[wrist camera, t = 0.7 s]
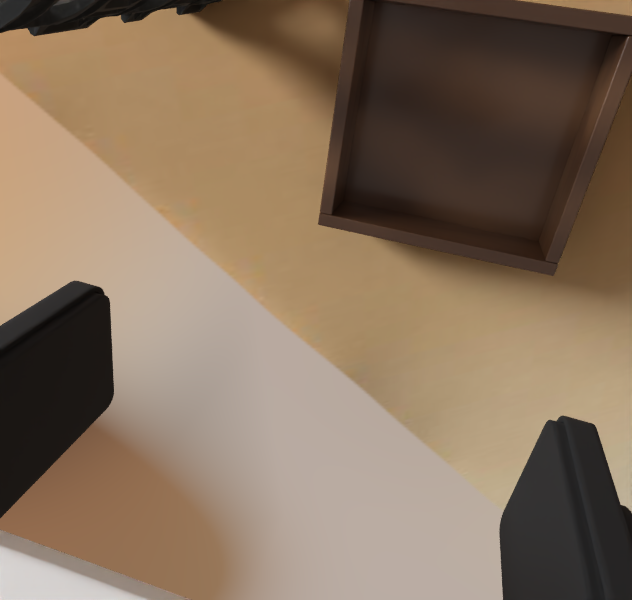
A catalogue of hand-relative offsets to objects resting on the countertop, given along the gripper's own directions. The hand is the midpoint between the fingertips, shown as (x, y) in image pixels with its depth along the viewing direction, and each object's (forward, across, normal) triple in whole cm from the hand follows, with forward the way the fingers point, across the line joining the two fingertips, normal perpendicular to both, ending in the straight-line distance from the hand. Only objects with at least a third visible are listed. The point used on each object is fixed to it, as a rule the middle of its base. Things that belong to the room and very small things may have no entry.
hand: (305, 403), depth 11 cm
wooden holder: (+27, -2, -2) cm, 27 cm away
